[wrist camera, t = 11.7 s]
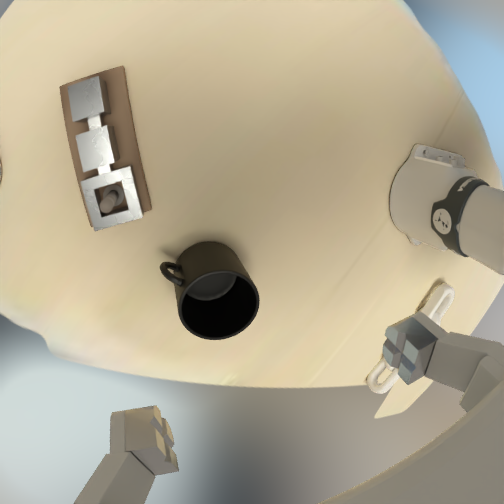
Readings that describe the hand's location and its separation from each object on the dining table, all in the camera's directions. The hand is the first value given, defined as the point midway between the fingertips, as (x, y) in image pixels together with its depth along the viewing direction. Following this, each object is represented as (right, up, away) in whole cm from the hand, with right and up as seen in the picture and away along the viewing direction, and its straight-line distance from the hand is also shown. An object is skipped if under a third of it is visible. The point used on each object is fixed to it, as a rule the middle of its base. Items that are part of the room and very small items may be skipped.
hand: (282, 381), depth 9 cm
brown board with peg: (-18, +17, +22) cm, 33 cm away
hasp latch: (-18, +16, +21) cm, 32 cm away
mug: (-8, +2, +32) cm, 33 cm away
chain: (+35, -15, +53) cm, 65 cm away
